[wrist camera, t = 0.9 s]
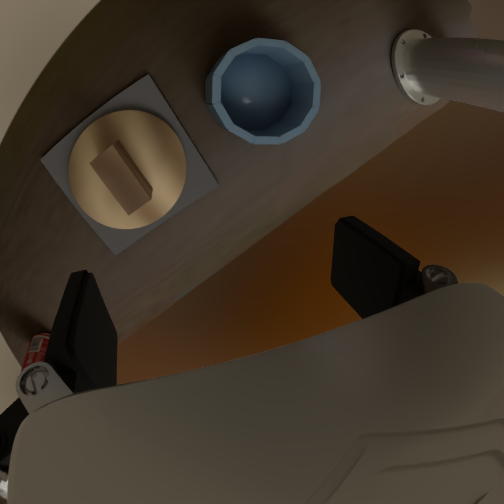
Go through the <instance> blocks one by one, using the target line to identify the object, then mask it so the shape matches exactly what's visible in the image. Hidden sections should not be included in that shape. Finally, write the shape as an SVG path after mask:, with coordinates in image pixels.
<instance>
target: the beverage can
mask: <svg viewBox="0 0 504 504" xmlns="http://www.w3.org/2000/svg"><path fill="white" fill-rule="evenodd" d="M49 338H50V334H48V333H41V334H36V335H34V336H33V337H32V339H31V342H30V345H29V348H28V351H27V354H26V357H25V360H24V363H23V367H22V370H21V371H23V370H24V369H25V368H26V367H27V366H29V365H30V364H33V363H36V362H43V361H44V357H45V353H46V349H47V345H48V341H49Z"/></svg>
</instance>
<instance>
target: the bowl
mask: <svg viewBox="0 0 504 504" xmlns="http://www.w3.org/2000/svg"><path fill="white" fill-rule="evenodd" d="M319 82H321V81H320V79H319V77H318V75H317V73H316V71H315V68H314V66H313V64H312V62H311V60H310V58H308V56H306V55H305V54H304V53H302V52H301V51H300V50H298V49H297V48H295V47H294V46H292V45H291V44H290V43H288V42H287V41H286V42H285V41H283V40H275V39H265V38H255V39H252V40H250V41H248V42H245V43H243V44H241V45H239V46H236V47H234V48H232V49H230V50H229V51H227V52H226V53H225V54H224V55H222V56H221V57H220V58H219V59H218V60H217V62H216V63H215V65H214V66H213V68H212V70H211V71H210V73H209V74H208V76H207V77H206V79H205V103H207V104H206V106H207V108H208V109H209V111H210V113H211V114H212V116H213V118H214V119H215V121H216V123H217V124H218V125H219V126H220V127H222V128H224V129H226V130H228V131H230V132H231V133H233V134H235V135H237V136H239V137H240V138H242V139H244V140H246V141H248V142H250V143H251V144H280V143H281V144H283V143H284V142H286V141H288V140H290V139H292V138H294V137H295V136H297V135H299V134H301V133H303V132H304V130H305V131H306V129H307V128H308V126H309V124H310V123H311V121H312V120H313V118H314V116H315V115H316V113H317V112H318V110H319V109H318V108H319V107H320V91H321V83H319Z"/></svg>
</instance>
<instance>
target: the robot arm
mask: <svg viewBox="0 0 504 504" xmlns="http://www.w3.org/2000/svg"><path fill="white" fill-rule="evenodd" d="M391 62H392V68H393V73H394V76H395V79H396V81H397V83H398V85H399V87H400V88H401V90H402V92H403V93H404V94H405V95H406V96H407V97H408V98H409V99H411V100H412V101H414V102H416V103H419V104H423V105H430V104H434V103H435V102H437V101H438V100H439V99H440V98H444V99H449V100H455V101H459V102H464V103H469V104H474V105H478V106H482V107H486V108H490V109H493V110H497V111H501V112H504V40H493V39H479V38H432V37H431V36H430V35H429V34H427V33H426V32H423V31H421V30H416V29H413V30H406V31H404V32H402V33H400V34H399V35H398V37H397V38H396V40H395V41H394V44H393V47H392V54H391ZM419 265H420V261H419V260H417V259H416V258H415V257H413V256H412V255H411V254H409V253H408V252H406V251H405V250H404V249H402V248H400V247H399V246H398V245H396V244H395V243H393V242H392V241H391V240H389V239H388V238H386V237H385V236H383V235H382V234H380V233H379V232H377V231H376V230H374V229H373V228H371V227H370V226H368V225H367V224H365V223H364V222H362V221H361V220H359V219H358V218H356V217H355V216H348V217H343V218H340V219H339V220H338V222H337V223H336V224H335V232H334V246H333V258H332V269H331V283H332V286H333V287H334V288H335V289H336V290H337V291H338V293H339V294H340V295H341V296H342V297H343V298H344V299H345V300H346V301H347V302H348V303H349V304H350V306H351V307H352V308H353V309H354V310H355V311H356V312H357V313H358V314H359V315H360V317H361V318H362V320H359V321H356V322H354V323H351V324H348V325H345V326H342V327H340V328H337V329H334V330H331V331H328V332H325V333H322V334H319V335H316V336H314V337H310V338H307V339H304V340H301V341H298V342H295V343H292V344H288V345H285V346H282V347H278V348H275V349H272V350H268V351H265V352H261V353H258V354H255V355H251V356H247V357H244V358H240V359H236V360H232V361H228V362H225V363H220V364H217V365H213V366H208V367H204V368H200V369H195V370H191V371H186V372H182V373H177V374H173V375H168V376H163V377H158V378H153V379H147V380H142V381H136V382H130V383H125V384H120V385H117V383H116V382H117V377H116V376H117V371H116V370H117V332H116V329H115V327H114V325H113V322H112V320H111V318H110V315H109V313H108V311H107V308H106V306H105V303H104V301H103V298H102V296H101V293H100V291H99V288H98V286H97V283H96V280H95V278H94V275H93V274H92V273H88V272H87V270H82V271H78V272H73V273H71V275H70V277H69V280H68V283H67V286H66V288H65V291H64V294H63V297H62V300H61V303H60V306H59V309H58V312H57V315H56V317H55V321H54V324H53V327H52V331H51V334H50V338H49V341H48V345H47V349H46V353H45V357H44V361H43V362H36V363H33V364H30V365H29V366H27V367H26V368H25V369H24V370H23V371H21V373H20V375H19V376H18V378H17V381H16V391H17V393H18V396H19V398H18V399H17V400H16V401H15V402H13V404H11V405H10V406H9V407H8V408H7V409H6V410H5V411H4V412H3V413H2V414H1V415H0V504H504V296H503V295H501V294H500V293H498V292H497V291H495V290H494V289H492V288H491V287H489V286H487V285H485V284H481V283H458V281H457V278H456V276H455V274H454V273H453V272H452V271H450V270H449V269H447V268H445V267H443V266H439V265H427V266H425V267H424V268H423V269H422V272H420V271H419V270H418V269H419Z"/></svg>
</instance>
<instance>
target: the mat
mask: <svg viewBox="0 0 504 504" xmlns="http://www.w3.org/2000/svg"><path fill="white" fill-rule="evenodd" d="M123 110H137V111H143V112H147V113H149V114H152V115H154V116H156V117H158V118H160V119H161V120H163V121H164V122H165V123H167V124H168V125H169V126H170V127H171V128H172V129H173V131H174V132H175V133H176V135H177V136H178V138H179V140H180V142H181V144H182V147H183V150H184V154H185V158H186V178H185V183H184V186H183V189H182V192H181V194H180V196H179V198H178V199H177V201H176V203H175V204H174V205H173V207H172V208H171V209H170V210H169V211H168V212H167V213H166V214H165V215H164V216H162V217H161V218H160V219H158V220H156V221H155V222H153V223H151V224H149V225H146V226H143V227H140V228H134V229H117V228H112V227H108V226H105V225H103V224H101V223H99V222H97V221H95V220H94V219H92V218H91V217H90V216H88V215H87V214H86V213H85V212H84V211H83V210H82V208H81V207H80V206H79V204H78V203H77V201H76V199H75V197H74V196H73V193H72V190H71V187H70V182H69V174H68V171H69V161H70V156H71V153H72V150H73V148H74V145H75V143H76V141H77V140H78V138H79V137H80V135H81V134H82V133H83V132H84V130H85V129H86V128H87V127H88V126H89V125H91V124H92V123H93V122H95V121H96V120H97V119H99V118H101V117H103V116H105V115H107V114H110V113H113V112H118V111H123ZM41 161H42V163H43V164H44V166H45V167H46V168H47V170H48V171H49V173H50V174H51V175H52V177H53V178H54V180H55V181H56V182H57V184H58V185H59V186H60V188H61V189H62V190H63V192H64V193H65V194H66V196H67V197H68V198H69V200H70V201H71V202H72V203H73V205H74V206H75V207H76V209H77V210H78V211H79V212H80V214H81V215H82V216H83V217H84V219H85V220H86V221H87V222H88V224H89V225H90V226H91V227H92V228H93V230H94V231H95V232H96V233H97V234H98V236H99V237H100V238H101V239H102V240H103V242H104V243H105V244H106V245H107V246H108V247H109V249H110V250H111V251H112V252H113V253H114V254H115V255H118V254H119V253H120V252H122V251H123V250H125V249H126V248H127V247H129V246H130V245H131V244H133V243H134V242H136V241H137V240H139V239H140V238H141V237H143V236H144V235H146V234H147V233H149V232H150V231H151V230H153V229H154V228H156V227H157V226H159V225H160V224H162V223H163V222H165V221H166V220H168V219H169V218H171V217H172V216H173V215H175V214H176V213H178V212H180V211H181V210H183V209H184V208H186V207H187V206H189V205H190V204H192V203H193V202H195V201H196V200H198V199H199V198H201V197H203V196H204V195H206V194H207V193H209V192H211V191H212V190H214V189H215V188H217V187H219V184H218V183H217V181H216V180H215V178H214V176H213V175H212V173H211V172H210V170H209V168H208V167H207V165H206V164H205V162H204V160H203V159H202V157H201V156H200V154H199V153H198V151H197V149H196V148H195V146H194V145H193V143H192V142H191V140H190V138H189V137H188V135H187V134H186V132H185V130H184V129H183V127H182V126H181V124H180V123H179V121H178V119H177V118H176V116H175V115H174V113H173V112H172V110H171V108H170V107H169V105H168V104H167V102H166V101H165V99H164V97H163V96H162V94H161V93H160V91H159V90H158V88H157V87H156V85H155V83H154V82H153V80H152V79H151V77H150V76H149V74H148V75H146V76H145V77H143V78H142V79H140V80H138V81H137V82H135V83H134V84H132V85H131V86H129V87H128V88H127V89H125V90H124V91H122V92H121V93H119V94H118V95H117V96H115V97H114V98H112V99H111V100H110V101H108V102H107V103H106V104H104V105H103V106H102V107H100V108H99V109H98V110H97V111H95V112H94V113H93V114H91V115H90V116H89V117H88V118H86V119H85V120H84V121H83V122H82V123H80V124H79V125H78V126H77V127H76V128H74V129H73V130H72V131H71V132H70V133H69V134H67V135H66V136H65V137H64V138H63V139H62V140H61V141H60V142H59V143H57V144H56V145H55V146H54V147H53V148H52V149H51V150H50V151H49V152H48V153H47V154H46V155H45V156H44V157H43V158H42V159H41Z"/></svg>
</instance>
